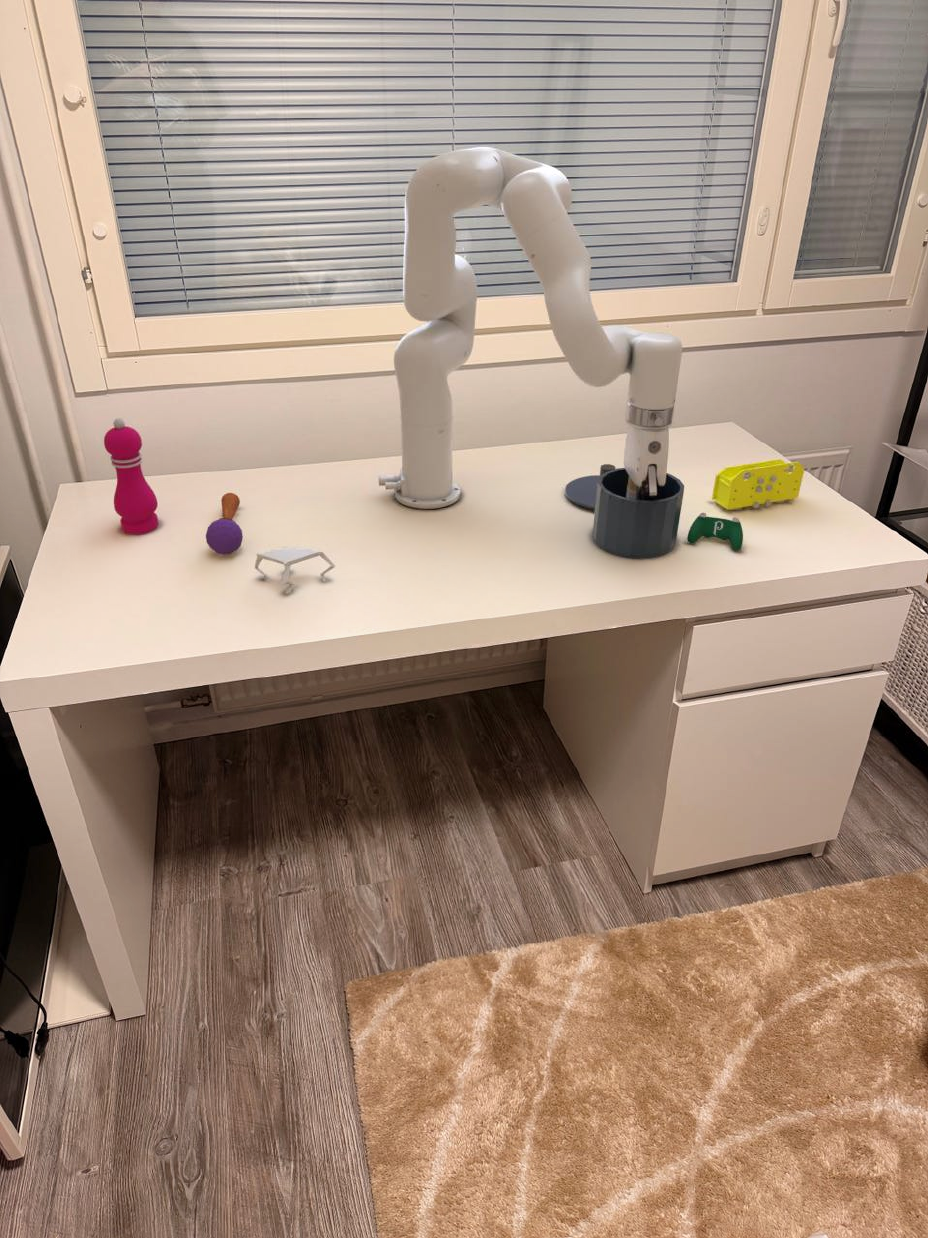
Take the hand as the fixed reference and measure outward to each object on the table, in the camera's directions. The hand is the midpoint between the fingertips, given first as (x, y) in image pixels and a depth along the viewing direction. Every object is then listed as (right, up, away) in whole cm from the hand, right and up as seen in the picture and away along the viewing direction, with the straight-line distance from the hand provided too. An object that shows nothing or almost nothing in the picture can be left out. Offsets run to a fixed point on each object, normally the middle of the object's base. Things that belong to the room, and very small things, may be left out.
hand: (636, 514), depth 153 cm
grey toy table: (-57, -12, -11) cm, 59 cm away
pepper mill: (-88, -2, +5) cm, 88 cm away
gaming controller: (+14, -5, +2) cm, 15 cm away
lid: (-3, +6, +17) cm, 18 cm away
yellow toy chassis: (+26, +4, +16) cm, 30 cm away
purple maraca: (-71, -3, +3) cm, 72 cm away
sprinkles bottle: (0, -3, +2) cm, 3 cm away
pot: (0, -4, +3) cm, 5 cm away
